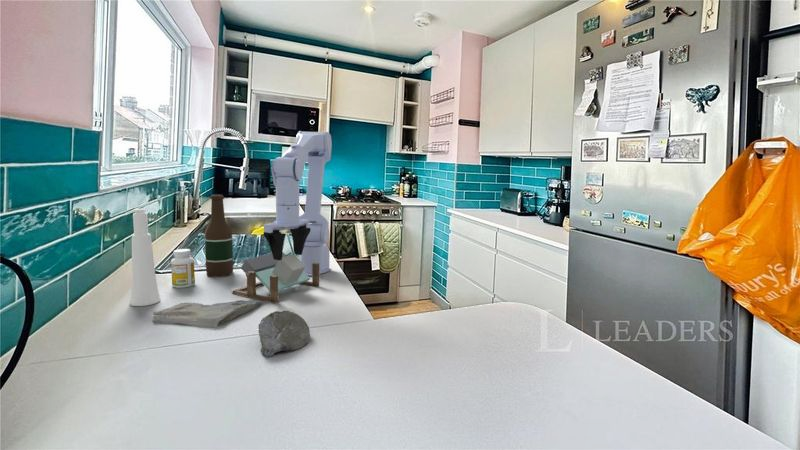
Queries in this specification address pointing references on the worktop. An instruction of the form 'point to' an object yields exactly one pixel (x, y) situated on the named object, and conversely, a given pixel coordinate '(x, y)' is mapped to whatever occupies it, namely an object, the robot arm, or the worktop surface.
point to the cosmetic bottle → (142, 263)
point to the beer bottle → (218, 241)
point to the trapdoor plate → (268, 271)
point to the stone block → (288, 269)
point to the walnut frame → (271, 285)
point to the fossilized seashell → (282, 332)
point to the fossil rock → (204, 313)
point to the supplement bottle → (182, 269)
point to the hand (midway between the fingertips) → (288, 256)
